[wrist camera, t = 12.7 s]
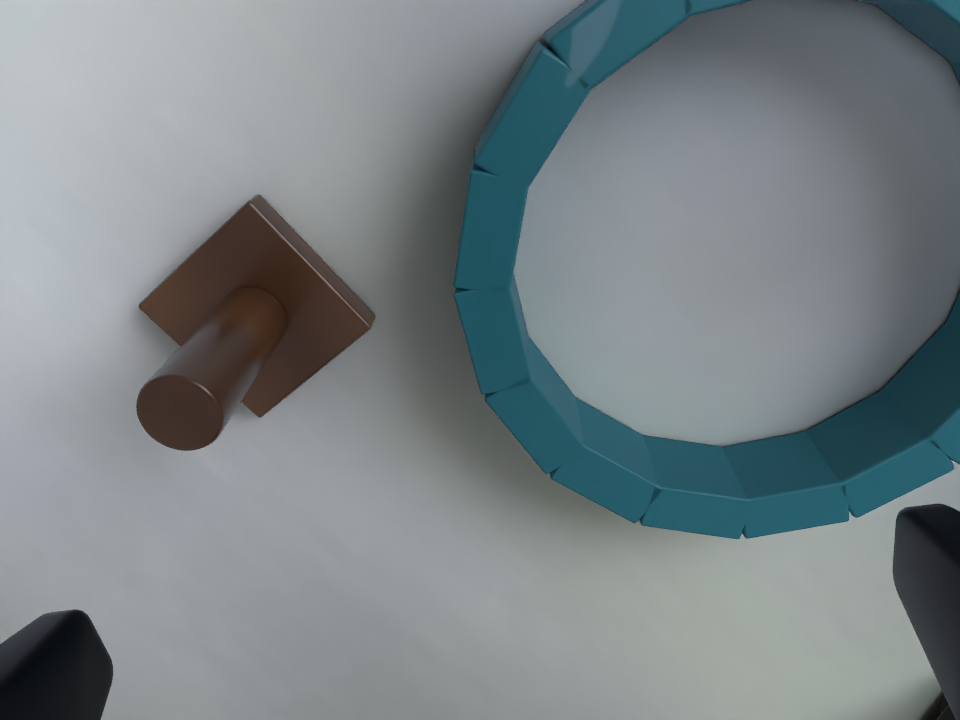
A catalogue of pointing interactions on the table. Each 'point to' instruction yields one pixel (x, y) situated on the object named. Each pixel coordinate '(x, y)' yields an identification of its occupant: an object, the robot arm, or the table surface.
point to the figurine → (945, 711)
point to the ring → (610, 444)
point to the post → (243, 327)
